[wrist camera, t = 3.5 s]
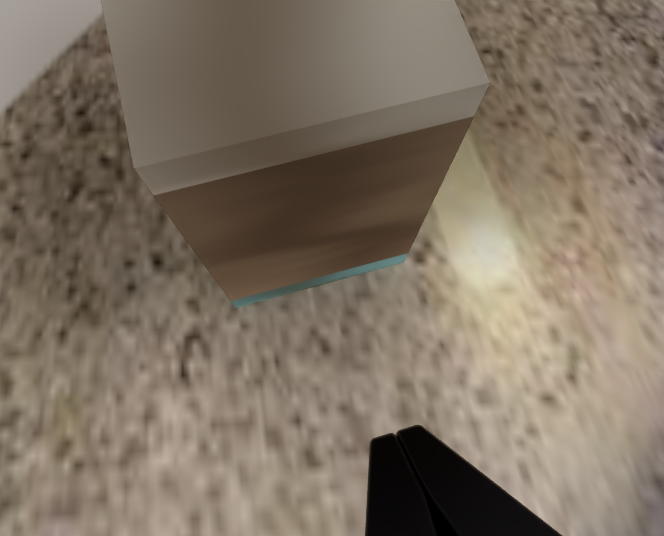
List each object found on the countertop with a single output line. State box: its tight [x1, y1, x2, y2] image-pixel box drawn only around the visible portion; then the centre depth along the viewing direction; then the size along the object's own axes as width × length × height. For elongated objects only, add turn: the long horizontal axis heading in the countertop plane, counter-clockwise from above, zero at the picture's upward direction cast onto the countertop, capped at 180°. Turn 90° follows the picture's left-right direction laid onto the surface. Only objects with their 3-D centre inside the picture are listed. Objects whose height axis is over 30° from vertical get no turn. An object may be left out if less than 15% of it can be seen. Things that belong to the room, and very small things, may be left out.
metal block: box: [101, 0, 490, 308], centre depth 14 cm, size 6×6×10 cm
